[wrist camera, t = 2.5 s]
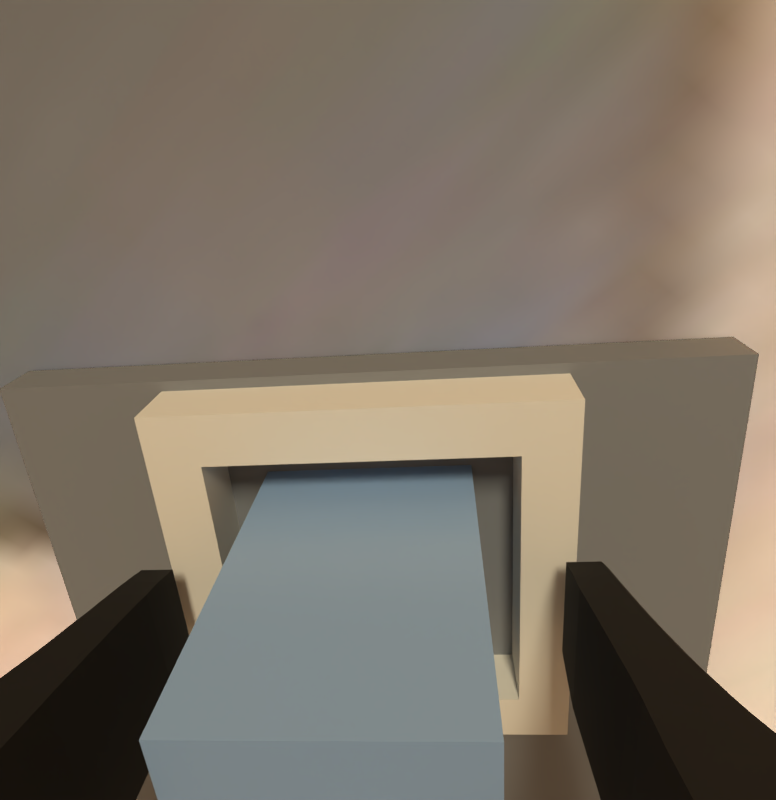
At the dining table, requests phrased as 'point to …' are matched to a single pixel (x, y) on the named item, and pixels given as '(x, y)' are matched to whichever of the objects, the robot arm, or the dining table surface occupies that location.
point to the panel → (417, 447)
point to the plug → (340, 650)
